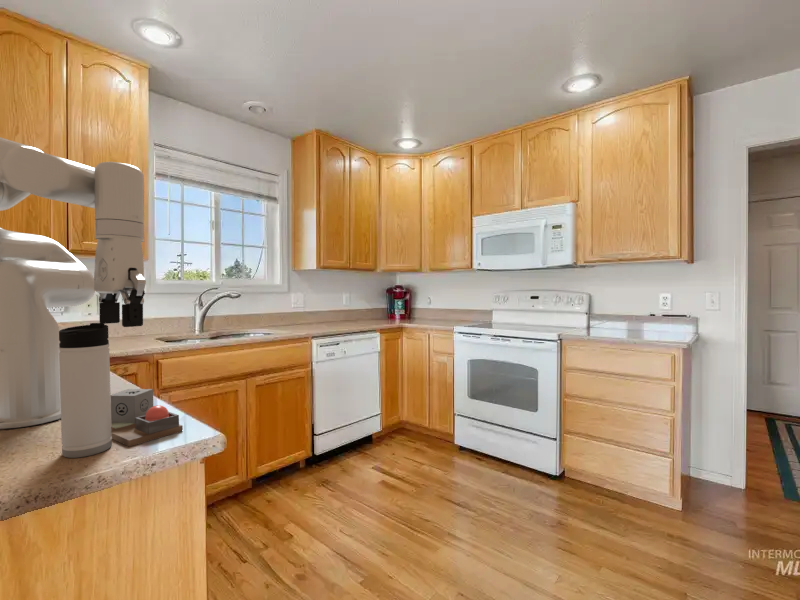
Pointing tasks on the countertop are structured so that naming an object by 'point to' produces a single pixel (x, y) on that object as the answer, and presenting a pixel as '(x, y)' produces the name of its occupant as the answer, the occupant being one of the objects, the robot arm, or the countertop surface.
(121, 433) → the button base
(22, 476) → the countertop surface
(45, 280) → the robot arm
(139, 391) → the grey sad face cube
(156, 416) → the dome
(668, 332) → the countertop surface
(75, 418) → the travel mug
